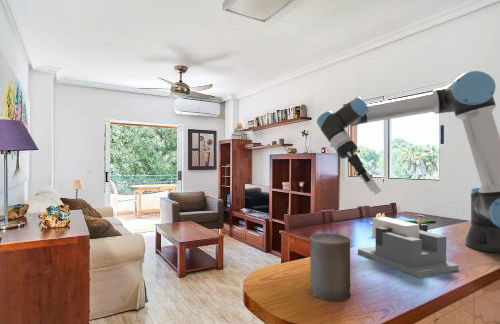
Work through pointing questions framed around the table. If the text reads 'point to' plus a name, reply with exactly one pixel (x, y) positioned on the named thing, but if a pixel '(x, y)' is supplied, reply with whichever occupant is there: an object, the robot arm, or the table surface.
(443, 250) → the guide
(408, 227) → the peg
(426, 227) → the cup
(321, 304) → the table surface
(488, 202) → the robot arm
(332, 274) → the pillar candle
